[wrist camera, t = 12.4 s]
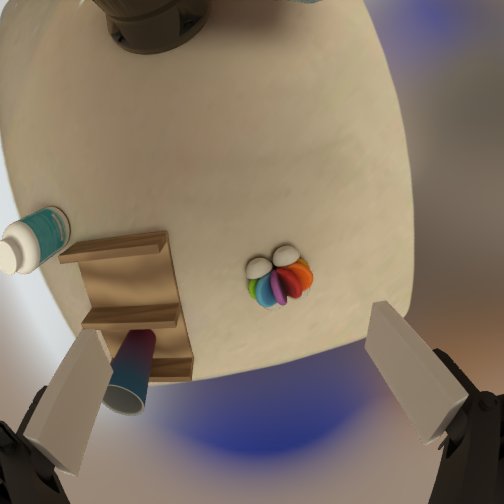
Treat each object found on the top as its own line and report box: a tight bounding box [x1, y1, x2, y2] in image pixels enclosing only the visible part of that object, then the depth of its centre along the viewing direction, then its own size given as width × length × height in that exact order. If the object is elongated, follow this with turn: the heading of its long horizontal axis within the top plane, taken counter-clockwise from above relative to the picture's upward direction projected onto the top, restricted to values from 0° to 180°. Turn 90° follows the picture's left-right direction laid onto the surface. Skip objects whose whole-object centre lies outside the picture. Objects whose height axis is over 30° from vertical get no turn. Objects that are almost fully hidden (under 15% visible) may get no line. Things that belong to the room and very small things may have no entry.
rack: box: [58, 231, 194, 382], centre depth 40 cm, size 24×16×6 cm, turn 4°
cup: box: [102, 329, 156, 416], centre depth 37 cm, size 7×7×15 cm
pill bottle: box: [0, 207, 70, 275], centre depth 30 cm, size 8×7×14 cm
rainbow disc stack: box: [246, 246, 313, 310], centre depth 39 cm, size 8×10×7 cm
